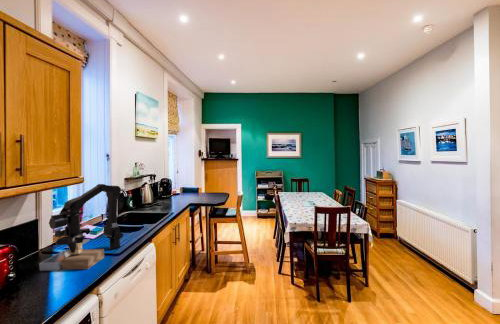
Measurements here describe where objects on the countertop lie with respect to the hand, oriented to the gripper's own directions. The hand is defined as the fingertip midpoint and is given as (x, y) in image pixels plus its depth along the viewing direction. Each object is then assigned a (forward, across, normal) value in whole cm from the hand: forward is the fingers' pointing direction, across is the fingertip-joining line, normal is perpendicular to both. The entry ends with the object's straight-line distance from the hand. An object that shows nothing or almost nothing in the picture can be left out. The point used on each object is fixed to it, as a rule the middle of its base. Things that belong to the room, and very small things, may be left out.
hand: (75, 251), depth 137 cm
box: (+7, 0, -8) cm, 11 cm away
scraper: (+1, 0, +1) cm, 1 cm away
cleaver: (+7, -23, -19) cm, 31 cm away
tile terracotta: (+3, +3, -4) cm, 5 cm away
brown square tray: (+7, 0, +4) cm, 8 cm away
